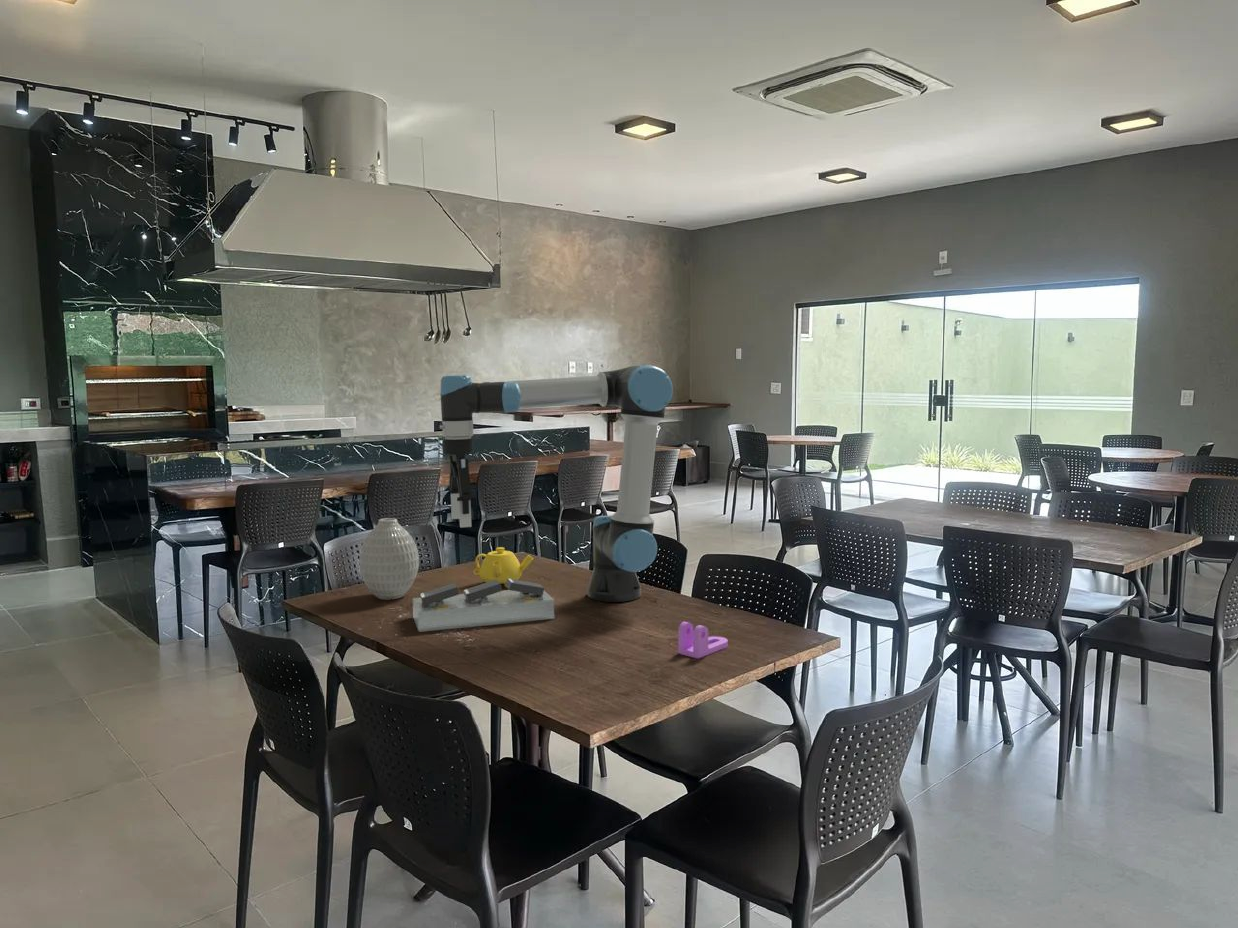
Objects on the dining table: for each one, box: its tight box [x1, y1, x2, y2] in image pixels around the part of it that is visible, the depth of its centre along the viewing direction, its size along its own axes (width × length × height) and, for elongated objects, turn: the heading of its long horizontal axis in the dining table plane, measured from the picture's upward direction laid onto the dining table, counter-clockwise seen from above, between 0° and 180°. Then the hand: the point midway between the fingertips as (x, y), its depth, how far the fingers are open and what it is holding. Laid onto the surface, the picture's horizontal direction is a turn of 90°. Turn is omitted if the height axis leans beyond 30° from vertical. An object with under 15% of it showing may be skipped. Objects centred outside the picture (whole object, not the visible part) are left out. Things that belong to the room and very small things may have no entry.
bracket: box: [677, 621, 729, 659], centre depth 193 cm, size 13×6×7 cm, turn 137°
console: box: [412, 589, 555, 633], centre depth 220 cm, size 34×14×6 cm, turn 109°
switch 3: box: [504, 578, 545, 596], centre depth 223 cm, size 9×5×2 cm, turn 109°
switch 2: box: [463, 579, 503, 602], centre depth 220 cm, size 9×5×2 cm, turn 109°
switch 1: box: [419, 582, 460, 606], centre depth 216 cm, size 9×5×2 cm, turn 109°
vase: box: [359, 517, 420, 601], centre depth 242 cm, size 16×16×22 cm
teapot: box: [473, 546, 534, 588], centre depth 256 cm, size 14×14×11 cm
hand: (461, 522), depth 214 cm, fingers open, 13 cm apart
